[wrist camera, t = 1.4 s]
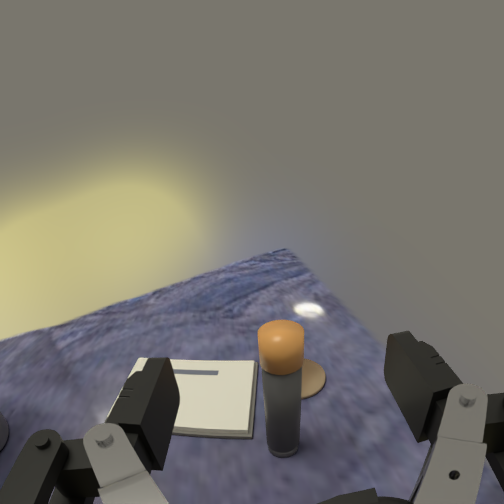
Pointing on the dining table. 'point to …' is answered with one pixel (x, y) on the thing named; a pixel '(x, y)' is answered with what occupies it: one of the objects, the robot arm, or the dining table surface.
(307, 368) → the coaster
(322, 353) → the dining table surface
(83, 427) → the dining table surface
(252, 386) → the notepad
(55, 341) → the dining table surface
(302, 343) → the marker
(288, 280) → the dining table surface
